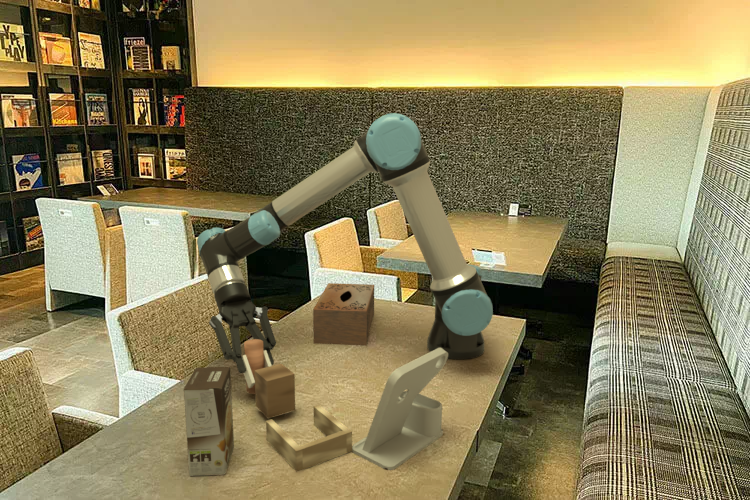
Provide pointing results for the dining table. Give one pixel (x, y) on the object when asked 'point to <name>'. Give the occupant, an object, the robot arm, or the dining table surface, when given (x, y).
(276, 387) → the block
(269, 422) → the wooden u-shaped frame
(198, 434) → the coffee box
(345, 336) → the tissue box cover
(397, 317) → the dining table surface
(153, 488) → the dining table surface
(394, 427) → the phone holder
